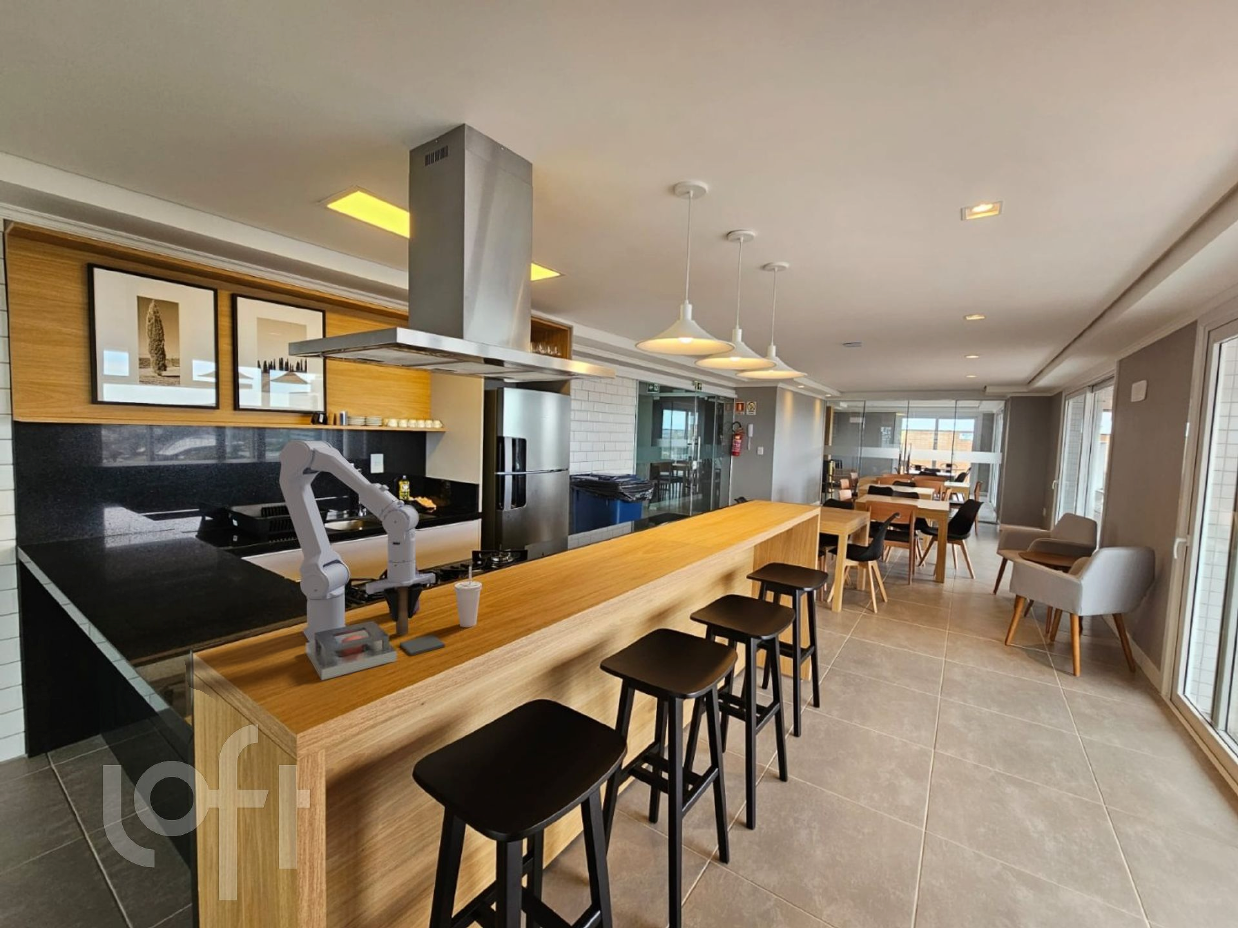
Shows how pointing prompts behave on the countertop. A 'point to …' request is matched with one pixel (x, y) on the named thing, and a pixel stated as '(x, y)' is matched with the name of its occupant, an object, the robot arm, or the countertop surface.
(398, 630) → the walnut dowel
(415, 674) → the countertop surface
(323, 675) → the box
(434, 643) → the rubber pad
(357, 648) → the breaker plunger
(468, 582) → the smoothie
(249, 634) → the countertop surface
